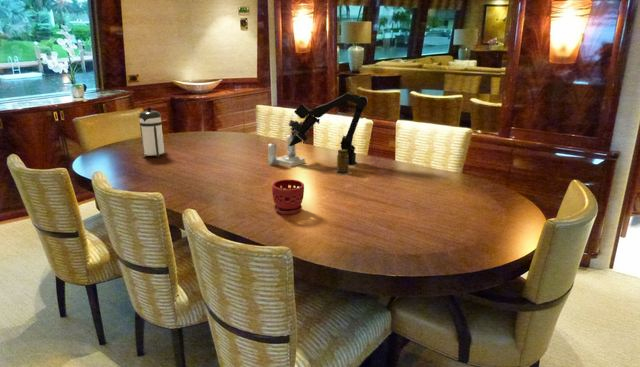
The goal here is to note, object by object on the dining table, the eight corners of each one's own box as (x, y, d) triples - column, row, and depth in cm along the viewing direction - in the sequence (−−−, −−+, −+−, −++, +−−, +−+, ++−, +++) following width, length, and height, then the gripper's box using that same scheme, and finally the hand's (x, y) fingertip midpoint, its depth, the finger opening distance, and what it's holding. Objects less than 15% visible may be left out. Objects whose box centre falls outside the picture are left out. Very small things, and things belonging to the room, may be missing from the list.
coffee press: (172, 156, 283) (167, 107, 274) (145, 160, 275) (139, 109, 266) (163, 151, 297) (158, 103, 288) (137, 154, 289) (131, 105, 279)
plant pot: (267, 214, 191) (266, 186, 188) (281, 204, 203) (280, 177, 199) (296, 218, 187) (296, 190, 183) (309, 207, 198) (308, 180, 195)
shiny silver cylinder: (297, 156, 266) (296, 135, 262) (290, 157, 263) (289, 136, 259) (292, 154, 269) (292, 134, 266) (285, 155, 267) (284, 135, 263)
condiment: (346, 169, 255) (346, 148, 251) (352, 173, 247) (352, 151, 244) (333, 170, 253) (333, 149, 249) (339, 175, 245) (340, 152, 241)
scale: (304, 162, 269) (304, 156, 268) (290, 166, 260) (290, 161, 259) (287, 158, 277) (286, 153, 276) (272, 162, 269) (272, 157, 268)
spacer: (278, 164, 265) (278, 144, 261) (272, 166, 261) (272, 145, 258) (272, 163, 268) (272, 142, 264) (266, 165, 264) (266, 144, 261)
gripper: (293, 112, 269) (275, 132, 269) (301, 117, 252) (281, 139, 252) (307, 125, 273) (289, 144, 274) (315, 131, 256) (296, 152, 257)
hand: (288, 144), depth 264 cm, fingers closed on shiny silver cylinder, 5 cm apart
